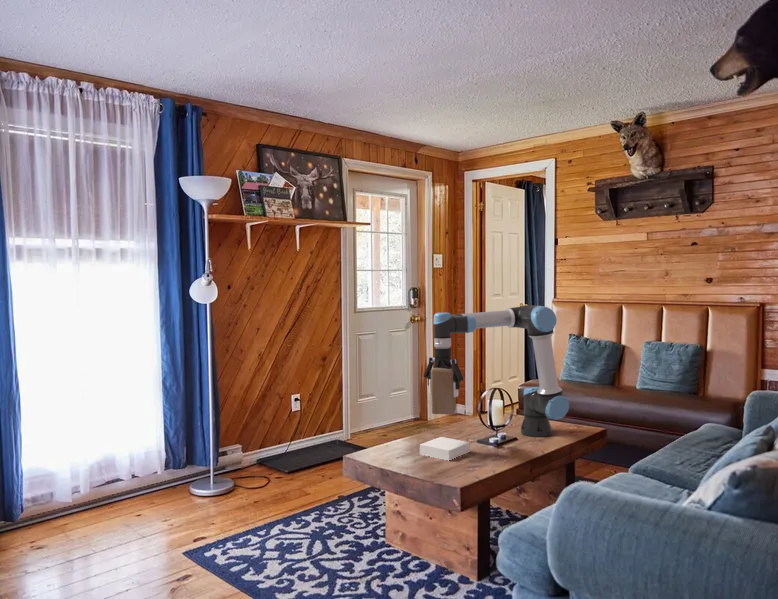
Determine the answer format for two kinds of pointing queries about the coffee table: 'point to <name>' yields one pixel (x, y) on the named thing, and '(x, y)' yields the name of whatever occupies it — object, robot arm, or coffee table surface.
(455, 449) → the base block
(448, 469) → the coffee table surface
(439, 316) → the robot arm
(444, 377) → the block
